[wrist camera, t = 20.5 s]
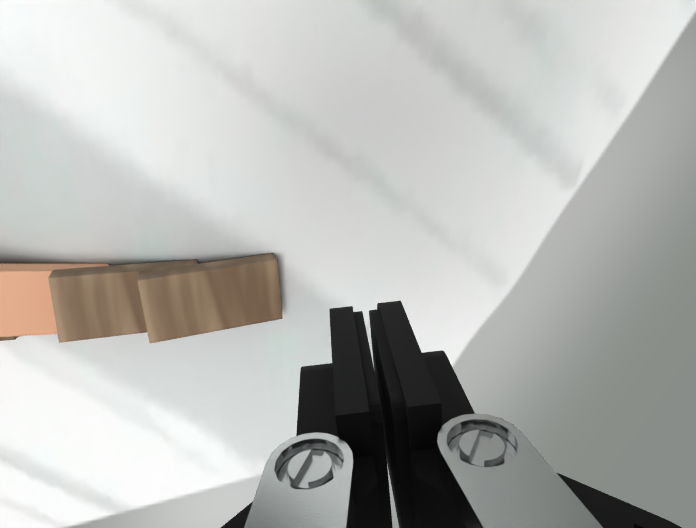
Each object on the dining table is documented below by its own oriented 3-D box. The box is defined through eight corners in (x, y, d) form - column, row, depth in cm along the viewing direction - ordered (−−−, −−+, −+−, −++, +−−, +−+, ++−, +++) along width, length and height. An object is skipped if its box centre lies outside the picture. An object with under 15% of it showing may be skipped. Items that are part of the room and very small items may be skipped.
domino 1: (108, 270, 37) (-59, 271, 32) (108, 330, 38) (-52, 339, 33) (108, 263, 38) (-52, 263, 34) (108, 321, 39) (-45, 329, 35)
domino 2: (198, 266, 37) (48, 278, 33) (202, 325, 38) (59, 342, 35) (196, 259, 38) (53, 269, 35) (200, 316, 40) (63, 331, 36)
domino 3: (277, 259, 37) (137, 280, 34) (282, 318, 39) (149, 343, 35) (272, 253, 38) (138, 272, 35) (277, 309, 40) (150, 332, 37)
